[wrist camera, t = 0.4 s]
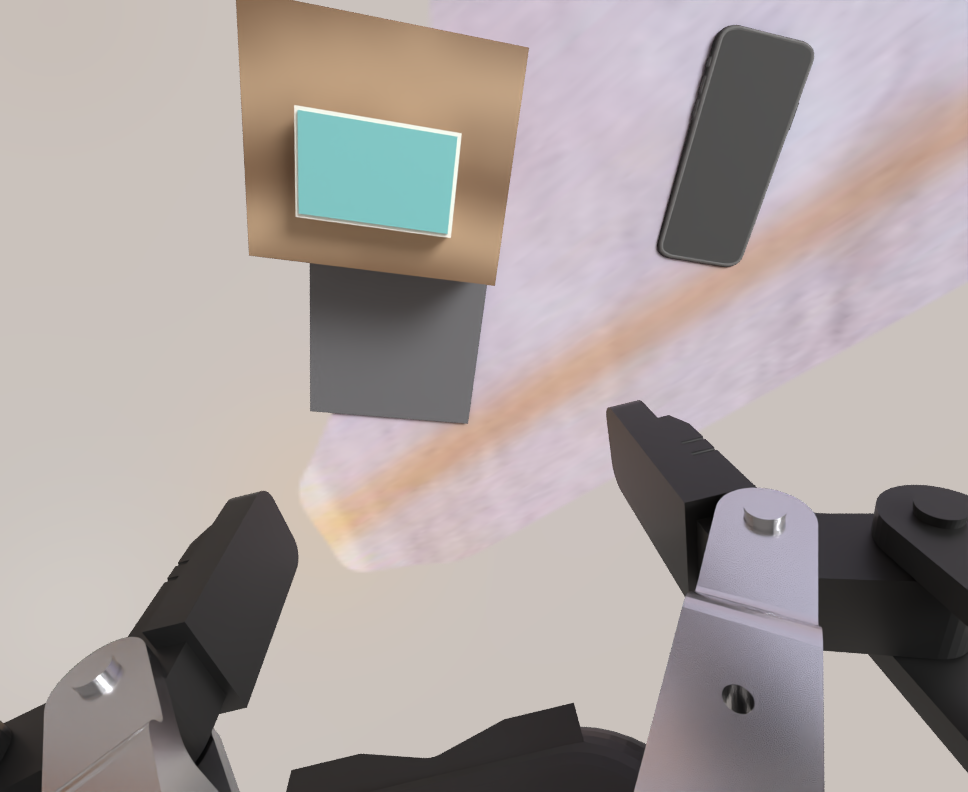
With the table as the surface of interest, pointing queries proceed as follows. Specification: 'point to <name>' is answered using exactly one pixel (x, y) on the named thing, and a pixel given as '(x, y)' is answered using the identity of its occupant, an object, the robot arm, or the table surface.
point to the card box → (374, 172)
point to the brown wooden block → (386, 96)
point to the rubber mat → (393, 344)
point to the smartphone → (733, 144)
